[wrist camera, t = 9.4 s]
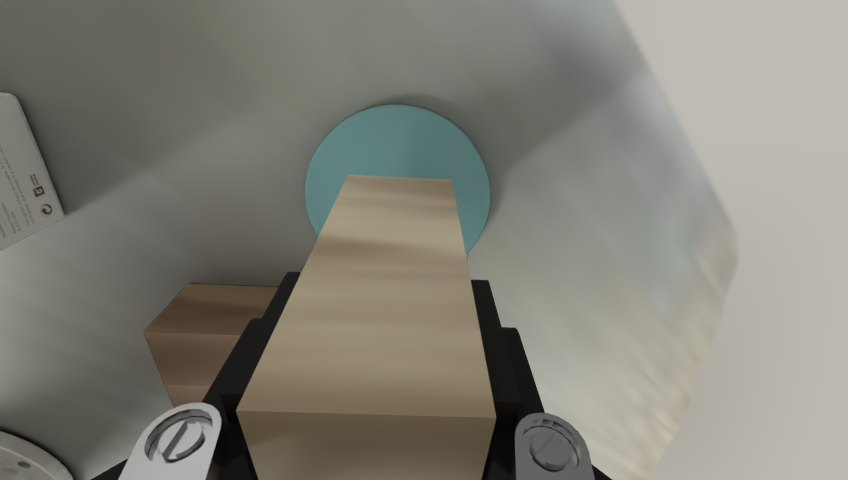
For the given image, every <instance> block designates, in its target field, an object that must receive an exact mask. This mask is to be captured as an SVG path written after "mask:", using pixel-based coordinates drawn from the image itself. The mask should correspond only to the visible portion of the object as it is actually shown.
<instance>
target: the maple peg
mask: <svg viewBox="0 0 848 480" xmlns="http://www.w3.org/2000/svg"><path fill="white" fill-rule="evenodd" d="M236 413H237V416H238V419H239V422H240V425H241V428H242V431H243V434H244V437H245V440H246V443H247V446H248V449H249V452H250V455H251V459H252V462H253V465H254V468H255V471H256V474H257V477H258V480H481V478H482V474H483V470H484V466H485V462H486V458H487V454H488V450H489V446H490V442H491V438H492V434H493V430H494V426H495V422H496V413H495V407H494V402H493V397H492V391H491V386H490V381H489V375H488V370H487V365H486V359H485V354H484V349H483V343H482V338H481V333H480V327H479V322H478V317H477V311H476V306H475V301H474V295H473V290H472V285H471V280H470V274H469V269H468V264H467V258H466V253H465V248H464V242H463V237H462V232H461V226H460V221H459V216H458V210H457V205H456V200H455V194H454V189H453V184H452V180H447V179H427V178H406V177H385V176H365V175H347V178H346V180H345V182H344V184H343V186H342V188H341V190H340V192H339V194H338V197H337V199H336V201H335V203H334V205H333V207H332V209H331V211H330V213H329V215H328V218H327V220H326V222H325V224H324V226H323V228H322V230H321V232H320V234H319V237H318V239H317V241H316V243H315V245H314V247H313V249H312V251H311V253H310V255H309V258H308V260H307V262H306V264H305V266H304V268H303V270H302V272H301V274H300V277H299V279H298V281H297V283H296V285H295V287H294V289H293V291H292V293H291V295H290V298H289V300H288V302H287V304H286V306H285V308H284V310H283V312H282V314H281V316H280V319H279V321H278V323H277V325H276V327H275V329H274V331H273V333H272V335H271V338H270V340H269V342H268V344H267V346H266V348H265V350H264V352H263V354H262V356H261V359H260V361H259V363H258V365H257V367H256V369H255V371H254V373H253V375H252V378H251V380H250V382H249V384H248V386H247V388H246V390H245V392H244V394H243V396H242V399H241V401H240V403H239V405H238V407H237V409H236Z"/></svg>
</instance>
